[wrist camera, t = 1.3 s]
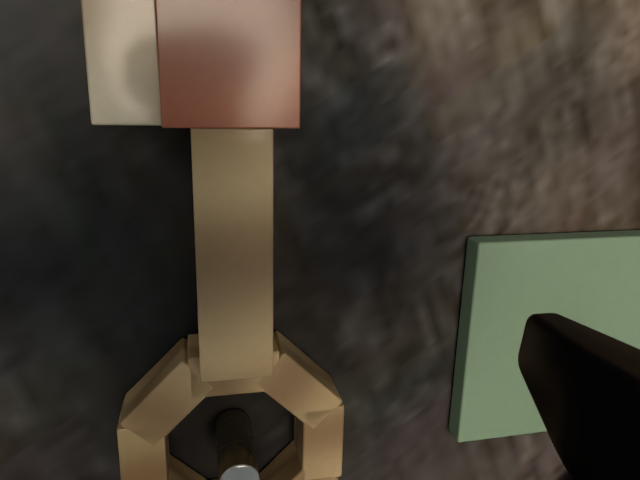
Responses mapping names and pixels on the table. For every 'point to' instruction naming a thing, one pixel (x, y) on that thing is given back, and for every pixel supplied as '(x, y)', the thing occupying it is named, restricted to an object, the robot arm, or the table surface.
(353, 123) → the table surface
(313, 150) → the table surface
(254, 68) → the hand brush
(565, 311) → the peg stand
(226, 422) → the stub peg
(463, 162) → the table surface
